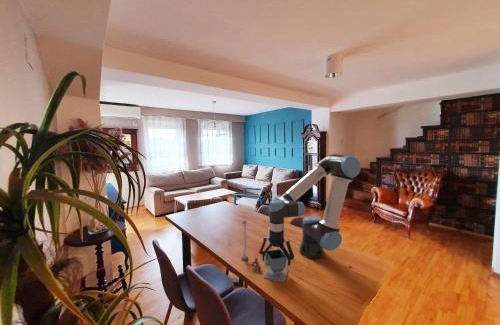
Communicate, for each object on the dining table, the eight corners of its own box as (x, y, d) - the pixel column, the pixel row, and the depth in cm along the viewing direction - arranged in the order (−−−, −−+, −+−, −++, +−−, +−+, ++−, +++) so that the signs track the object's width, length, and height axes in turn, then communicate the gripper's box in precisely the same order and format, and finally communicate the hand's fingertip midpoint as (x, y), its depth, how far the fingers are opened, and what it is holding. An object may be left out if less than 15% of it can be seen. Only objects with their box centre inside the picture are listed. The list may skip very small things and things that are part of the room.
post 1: (242, 256, 133) (242, 218, 131) (248, 257, 132) (248, 219, 129) (240, 259, 130) (239, 220, 127) (246, 261, 128) (246, 221, 126)
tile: (268, 266, 123) (268, 265, 123) (288, 270, 119) (288, 269, 119) (263, 278, 112) (263, 277, 112) (284, 282, 109) (284, 281, 109)
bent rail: (255, 261, 128) (255, 256, 127) (264, 263, 126) (264, 258, 125) (250, 269, 120) (250, 264, 119) (259, 271, 118) (259, 266, 118)
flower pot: (287, 273, 112) (287, 257, 111) (271, 276, 110) (271, 259, 109) (280, 263, 121) (280, 248, 120) (265, 266, 118) (265, 251, 117)
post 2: (267, 261, 128) (267, 221, 125) (274, 262, 127) (274, 222, 124) (265, 264, 124) (266, 224, 122) (272, 266, 123) (272, 225, 120)
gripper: (253, 229, 113) (253, 268, 116) (298, 235, 105) (297, 277, 108) (257, 223, 120) (257, 260, 123) (300, 229, 113) (299, 268, 115)
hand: (276, 268), depth 115 cm, fingers closed on flower pot, 11 cm apart
